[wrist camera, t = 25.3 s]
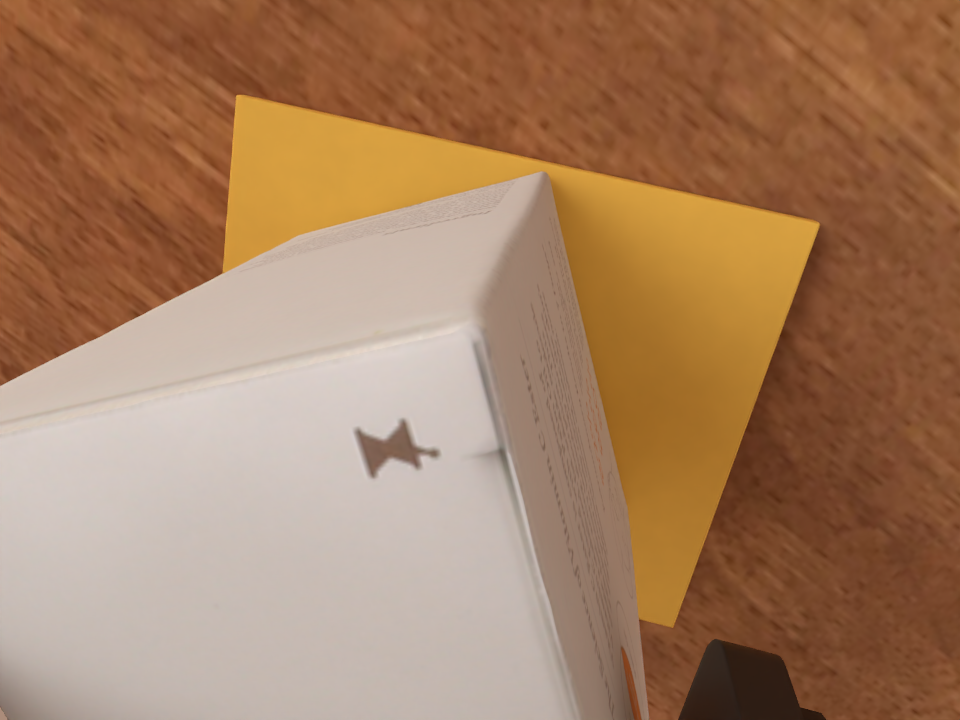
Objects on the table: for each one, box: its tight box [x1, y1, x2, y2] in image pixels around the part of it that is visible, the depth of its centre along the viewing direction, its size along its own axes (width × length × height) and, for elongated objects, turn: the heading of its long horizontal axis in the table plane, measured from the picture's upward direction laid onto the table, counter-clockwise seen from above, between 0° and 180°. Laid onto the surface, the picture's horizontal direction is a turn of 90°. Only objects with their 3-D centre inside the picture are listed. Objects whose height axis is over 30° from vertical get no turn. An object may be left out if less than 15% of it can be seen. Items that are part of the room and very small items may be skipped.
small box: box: [0, 171, 649, 720], centre depth 11 cm, size 8×6×10 cm
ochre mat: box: [223, 95, 820, 628], centre depth 17 cm, size 12×10×1 cm
